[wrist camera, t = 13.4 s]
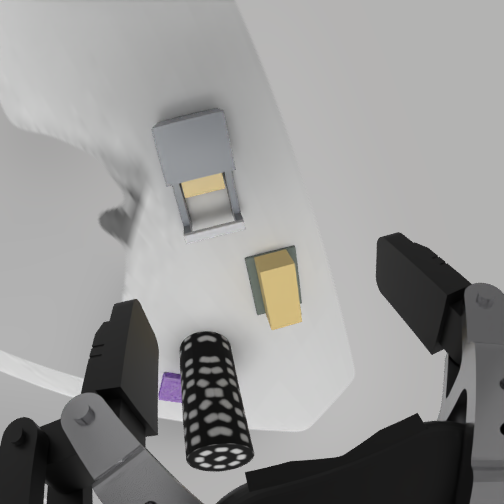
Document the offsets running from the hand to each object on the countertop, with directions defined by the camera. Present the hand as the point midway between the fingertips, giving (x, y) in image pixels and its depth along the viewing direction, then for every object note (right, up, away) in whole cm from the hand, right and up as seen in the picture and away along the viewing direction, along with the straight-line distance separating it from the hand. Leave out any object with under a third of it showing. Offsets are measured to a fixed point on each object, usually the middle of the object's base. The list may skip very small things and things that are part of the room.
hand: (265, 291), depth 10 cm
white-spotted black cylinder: (-8, -15, +41) cm, 44 cm away
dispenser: (-7, +11, +28) cm, 30 cm away
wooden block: (+3, -3, +36) cm, 37 cm away
